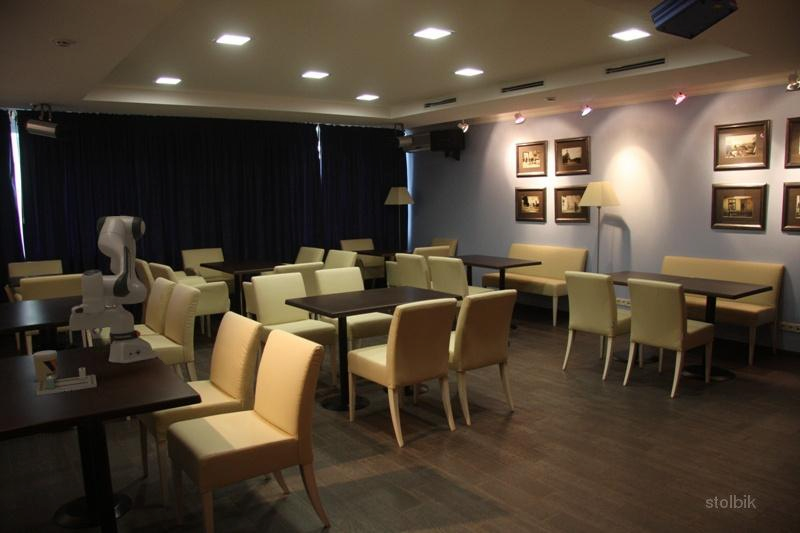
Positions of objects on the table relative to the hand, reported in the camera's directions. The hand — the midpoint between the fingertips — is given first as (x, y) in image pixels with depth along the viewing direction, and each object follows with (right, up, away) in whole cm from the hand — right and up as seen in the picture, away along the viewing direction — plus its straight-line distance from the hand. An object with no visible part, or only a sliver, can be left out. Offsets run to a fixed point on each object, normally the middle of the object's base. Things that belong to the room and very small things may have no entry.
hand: (96, 338), depth 265 cm
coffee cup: (-24, -19, +5) cm, 31 cm away
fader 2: (-5, -17, -1) cm, 18 cm away
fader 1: (-12, -19, -14) cm, 26 cm away
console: (-9, -20, -7) cm, 23 cm away
